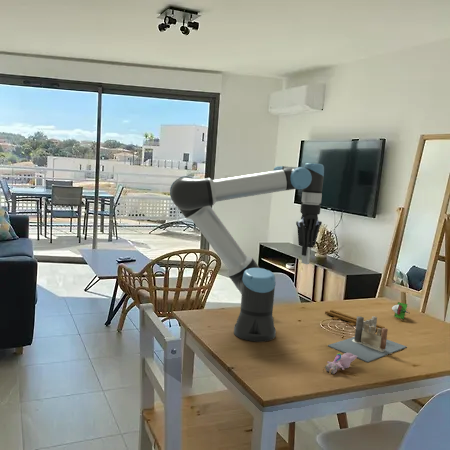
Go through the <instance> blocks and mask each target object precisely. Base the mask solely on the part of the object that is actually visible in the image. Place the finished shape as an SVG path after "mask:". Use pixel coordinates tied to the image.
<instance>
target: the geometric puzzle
mask: <svg viewBox="0 0 450 450" xmlns="http://www.w3.org/2000/svg"><path fill="white" fill-rule="evenodd" d="M408 305H409V304H408V303H404V302H399V301H397V304H394V305H393V306H392V307H391V310H392V312H394V315H393V317H394V318H397V319H401V320H404V319H405V318H407V317H405V316H407V315H409V311H408ZM406 313H407V314H406Z"/></svg>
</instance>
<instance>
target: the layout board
mask: <svg viewBox="0 0 450 450" xmlns="http://www.w3.org/2000/svg"><path fill="white" fill-rule="evenodd" d="M354 339H355V336H352V337H349V338H346V339H343V340H339V341H336V342H333V343H330V344H327V347H329V348H331V349H333V350H336V351H339V352H341V353H343V354H345V353H351V354H353V355H356V356H358V357H357V358H356V359H358V360H360V361H362V362H365V363H370V362H373V361H375V360H378V359H380V358H383V357H385V356H388V354H389V355H391V354H394V353H396V352H398V351H401V349H402V350H404V349H406V348H407V347H408V346H406V345H404V344H402V343H398V342H394V341H392V340H390V339H387V340H386V348H385V349H381V348H378V347H376V346H373V345H370V344H367V343H364V342H355V341H354ZM393 352H394V353H393Z"/></svg>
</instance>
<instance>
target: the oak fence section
mask: <svg viewBox="0 0 450 450" xmlns="http://www.w3.org/2000/svg"><path fill="white" fill-rule="evenodd" d="M368 331H369V325H368V324H365V326H364V330H363V331H362V335H361V342H364V343H367V344H370V345H373V346H376V347H378V348H381V349H385V348H386V340H388V339H387V338H388V328H387V327H386V328H382V329H380V328H378V329H377V331H376V332H375V327H374V326H371V331H370V332H368Z"/></svg>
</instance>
